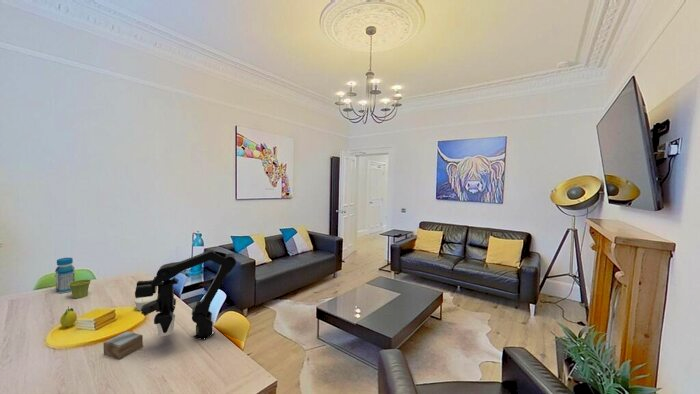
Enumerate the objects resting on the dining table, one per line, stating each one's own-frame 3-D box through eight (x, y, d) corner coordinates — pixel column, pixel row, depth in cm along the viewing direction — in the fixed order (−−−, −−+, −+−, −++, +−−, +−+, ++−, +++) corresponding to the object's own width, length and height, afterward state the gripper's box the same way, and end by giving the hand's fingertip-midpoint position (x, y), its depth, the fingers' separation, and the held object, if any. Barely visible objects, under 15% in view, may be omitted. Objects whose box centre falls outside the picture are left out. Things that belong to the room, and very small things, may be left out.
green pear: (65, 331, 126) (64, 310, 125) (55, 329, 127) (54, 308, 126) (82, 324, 132) (81, 303, 132) (72, 322, 134) (72, 302, 133)
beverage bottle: (65, 294, 164) (64, 261, 163) (51, 293, 164) (50, 260, 163) (79, 288, 172) (78, 257, 171) (66, 287, 172) (65, 256, 171)
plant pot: (93, 295, 163) (93, 281, 162) (71, 301, 155) (71, 286, 154) (88, 291, 168) (88, 278, 167) (66, 297, 160) (66, 282, 159)
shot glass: (165, 337, 116) (165, 321, 115) (152, 335, 117) (152, 319, 117) (178, 329, 123) (178, 314, 122) (165, 327, 124) (165, 312, 124)
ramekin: (130, 309, 148) (129, 299, 148) (151, 301, 159) (151, 292, 158) (143, 313, 144) (143, 304, 144) (164, 305, 155) (164, 296, 154)
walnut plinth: (142, 346, 117) (142, 334, 117) (119, 359, 108) (119, 346, 108) (127, 342, 119) (127, 330, 119) (103, 354, 111) (103, 341, 110)
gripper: (146, 289, 123) (147, 322, 124) (138, 306, 107) (138, 345, 108) (176, 285, 129) (176, 317, 130) (172, 301, 112) (172, 338, 113)
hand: (165, 328), depth 120 cm, fingers closed on shot glass, 6 cm apart
